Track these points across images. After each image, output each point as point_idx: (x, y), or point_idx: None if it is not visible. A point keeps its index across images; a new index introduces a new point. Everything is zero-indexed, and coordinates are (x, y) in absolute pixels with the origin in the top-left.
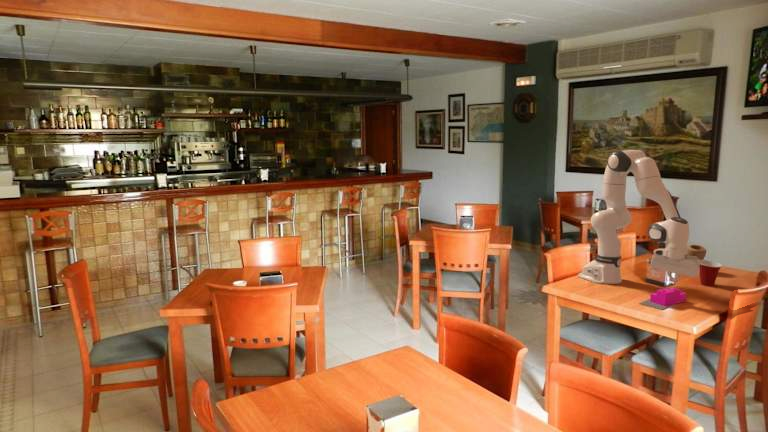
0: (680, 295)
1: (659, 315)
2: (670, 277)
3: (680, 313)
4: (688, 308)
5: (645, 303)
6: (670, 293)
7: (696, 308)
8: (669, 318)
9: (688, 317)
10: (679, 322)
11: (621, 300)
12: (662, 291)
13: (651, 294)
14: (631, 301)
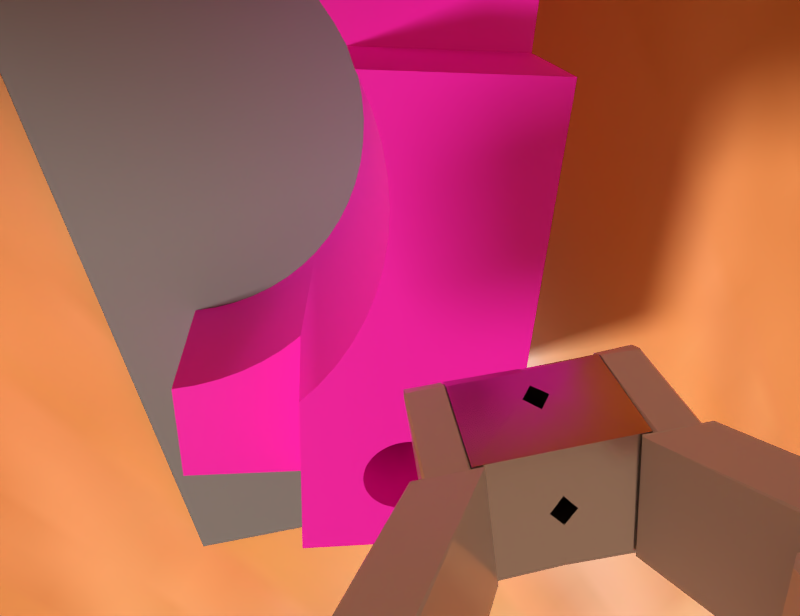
0: (528, 34)
1: (560, 606)
2: (488, 608)
3: None
4: (690, 147)
5: (243, 495)
6: None
7: (782, 27)
8: (660, 591)
9: (791, 436)
10: None
11: (6, 608)
12: None
13: (202, 470)
14: (84, 546)
